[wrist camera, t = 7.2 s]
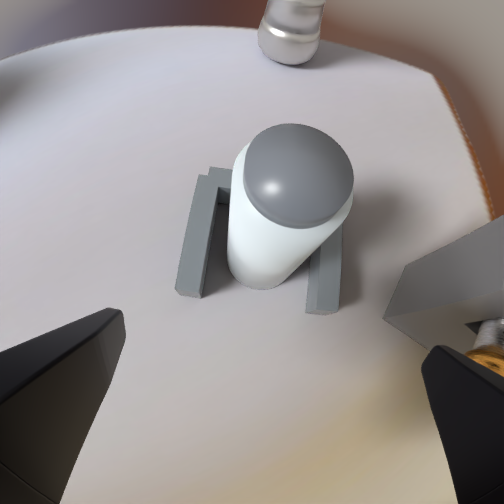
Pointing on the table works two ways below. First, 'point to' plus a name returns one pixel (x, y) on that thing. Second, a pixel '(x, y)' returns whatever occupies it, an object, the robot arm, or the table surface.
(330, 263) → the cradle
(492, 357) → the plunger
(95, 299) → the table surface
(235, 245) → the cylinder
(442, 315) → the block
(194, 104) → the table surface
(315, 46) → the plastic bottle
